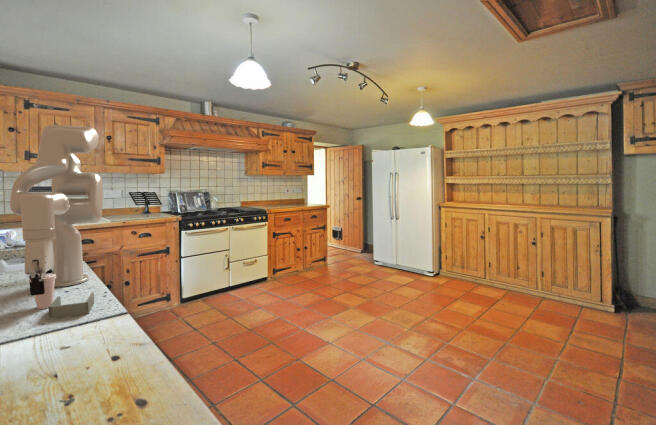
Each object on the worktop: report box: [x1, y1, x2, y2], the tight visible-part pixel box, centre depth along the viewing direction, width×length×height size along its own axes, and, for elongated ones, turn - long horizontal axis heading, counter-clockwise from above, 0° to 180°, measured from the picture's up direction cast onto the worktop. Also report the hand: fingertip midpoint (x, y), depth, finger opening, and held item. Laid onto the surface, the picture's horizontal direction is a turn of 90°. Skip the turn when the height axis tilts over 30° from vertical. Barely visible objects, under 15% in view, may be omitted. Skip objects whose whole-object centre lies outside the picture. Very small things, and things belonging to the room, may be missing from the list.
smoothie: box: [28, 272, 56, 310], centre depth 104 cm, size 6×6×14 cm
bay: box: [48, 292, 95, 320], centre depth 102 cm, size 9×9×4 cm
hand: (43, 289), depth 103 cm, fingers open, 9 cm apart
